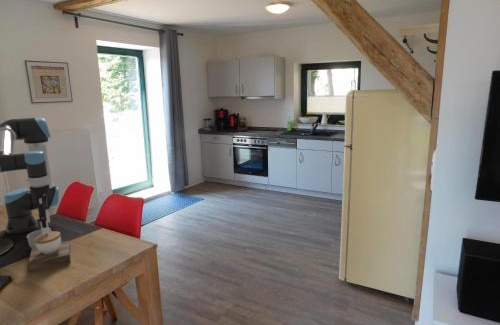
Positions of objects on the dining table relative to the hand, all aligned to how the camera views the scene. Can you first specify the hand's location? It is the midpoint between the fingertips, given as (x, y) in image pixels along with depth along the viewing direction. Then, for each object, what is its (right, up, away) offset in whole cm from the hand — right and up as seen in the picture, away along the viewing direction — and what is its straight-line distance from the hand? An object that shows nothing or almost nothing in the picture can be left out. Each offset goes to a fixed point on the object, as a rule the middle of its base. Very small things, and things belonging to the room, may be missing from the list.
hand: (46, 227), depth 151 cm
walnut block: (0, -17, +4) cm, 17 cm away
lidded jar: (+1, -12, +2) cm, 12 cm away
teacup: (-13, -13, +18) cm, 25 cm away
